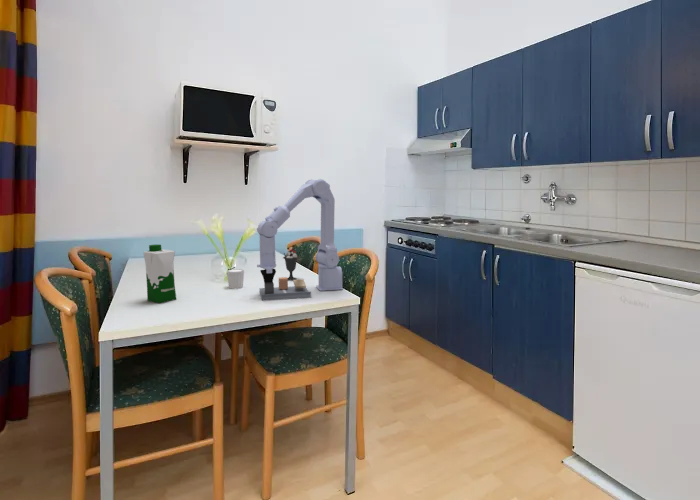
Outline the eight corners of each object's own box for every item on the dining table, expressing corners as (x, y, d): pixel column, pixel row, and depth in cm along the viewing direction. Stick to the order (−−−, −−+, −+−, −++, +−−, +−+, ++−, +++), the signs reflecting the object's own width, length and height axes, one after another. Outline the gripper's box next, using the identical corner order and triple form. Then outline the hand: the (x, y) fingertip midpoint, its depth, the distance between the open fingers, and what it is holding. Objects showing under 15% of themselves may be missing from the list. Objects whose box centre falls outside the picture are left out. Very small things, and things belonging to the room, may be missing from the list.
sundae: (301, 278, 195) (301, 245, 193) (292, 281, 189) (291, 247, 187) (290, 277, 198) (289, 244, 196) (280, 279, 193) (279, 246, 190)
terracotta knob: (286, 287, 171) (286, 277, 171) (287, 288, 168) (287, 278, 168) (278, 287, 171) (278, 277, 170) (279, 289, 167) (279, 279, 167)
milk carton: (165, 295, 163) (162, 243, 160) (180, 299, 158) (177, 245, 156) (143, 301, 156) (139, 246, 153) (159, 304, 151) (155, 247, 148)
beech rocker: (303, 281, 171) (303, 279, 171) (305, 287, 165) (305, 285, 165) (293, 281, 170) (293, 279, 170) (295, 288, 164) (295, 286, 164)
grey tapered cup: (240, 289, 174) (239, 272, 173) (224, 288, 175) (223, 271, 174) (247, 285, 181) (246, 269, 180) (232, 285, 182) (231, 268, 181)
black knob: (273, 292, 163) (272, 281, 162) (273, 294, 160) (273, 283, 159) (264, 292, 162) (264, 282, 161) (265, 294, 159) (264, 284, 158)
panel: (304, 288, 175) (304, 281, 175) (310, 297, 161) (310, 290, 160) (259, 291, 171) (259, 284, 170) (261, 300, 156) (261, 293, 156)
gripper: (255, 250, 167) (256, 285, 169) (257, 256, 154) (258, 293, 155) (274, 250, 169) (275, 284, 171) (277, 255, 155) (278, 292, 157)
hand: (268, 288), depth 163 cm, fingers closed
